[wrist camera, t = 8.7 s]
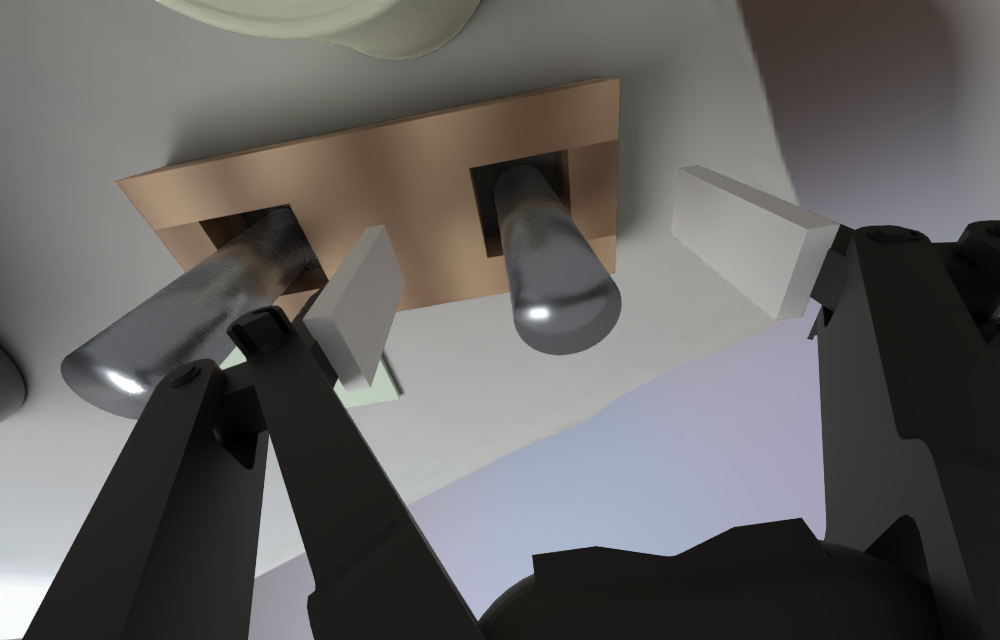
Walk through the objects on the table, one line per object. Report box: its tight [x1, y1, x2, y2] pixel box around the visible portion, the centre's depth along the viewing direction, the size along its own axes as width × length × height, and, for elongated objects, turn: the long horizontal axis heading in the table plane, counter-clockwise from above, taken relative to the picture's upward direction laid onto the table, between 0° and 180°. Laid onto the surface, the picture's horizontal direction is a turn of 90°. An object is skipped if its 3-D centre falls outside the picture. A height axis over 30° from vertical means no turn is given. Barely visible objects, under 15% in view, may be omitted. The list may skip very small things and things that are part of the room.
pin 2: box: [494, 165, 621, 355], centre depth 15 cm, size 3×3×12 cm
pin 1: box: [61, 208, 316, 420], centre depth 15 cm, size 3×3×12 cm
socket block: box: [115, 77, 620, 322], centre depth 19 cm, size 22×9×3 cm, turn 100°
